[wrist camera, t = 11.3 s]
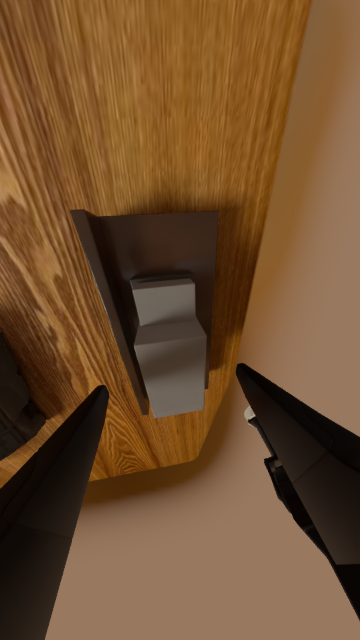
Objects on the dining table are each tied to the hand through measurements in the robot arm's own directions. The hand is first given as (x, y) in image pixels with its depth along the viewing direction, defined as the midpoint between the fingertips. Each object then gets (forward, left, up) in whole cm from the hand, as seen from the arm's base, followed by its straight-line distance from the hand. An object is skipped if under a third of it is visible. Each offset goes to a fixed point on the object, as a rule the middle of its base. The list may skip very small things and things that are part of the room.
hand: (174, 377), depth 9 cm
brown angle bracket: (0, 0, -8) cm, 8 cm away
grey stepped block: (0, 0, -5) cm, 5 cm away
